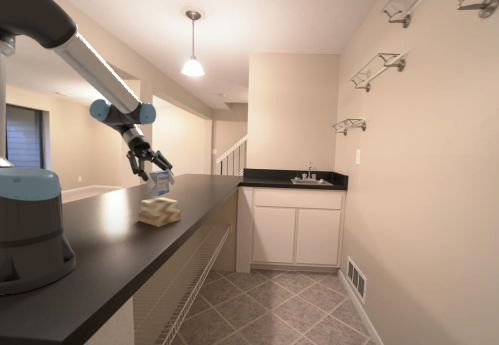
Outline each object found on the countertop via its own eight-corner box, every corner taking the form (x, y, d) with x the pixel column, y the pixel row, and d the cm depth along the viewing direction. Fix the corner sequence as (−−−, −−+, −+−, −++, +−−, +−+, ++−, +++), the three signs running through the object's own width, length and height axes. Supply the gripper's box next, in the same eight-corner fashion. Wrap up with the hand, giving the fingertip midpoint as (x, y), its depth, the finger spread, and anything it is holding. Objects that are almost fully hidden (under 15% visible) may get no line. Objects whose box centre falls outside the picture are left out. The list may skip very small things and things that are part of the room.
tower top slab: (156, 216, 83) (155, 205, 82) (141, 210, 90) (141, 200, 89) (178, 211, 89) (177, 201, 89) (162, 206, 96) (162, 197, 96)
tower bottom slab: (158, 227, 83) (157, 216, 82) (138, 221, 89) (138, 211, 89) (180, 220, 91) (180, 210, 90) (161, 215, 97) (160, 206, 97)
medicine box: (158, 196, 85) (157, 172, 84) (147, 195, 86) (146, 172, 85) (169, 192, 93) (169, 170, 92) (159, 191, 93) (158, 170, 92)
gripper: (156, 148, 104) (181, 187, 98) (106, 149, 86) (133, 196, 80) (163, 136, 101) (190, 175, 94) (112, 134, 83) (141, 182, 76)
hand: (164, 185), depth 87 cm, fingers closed on medicine box, 9 cm apart
